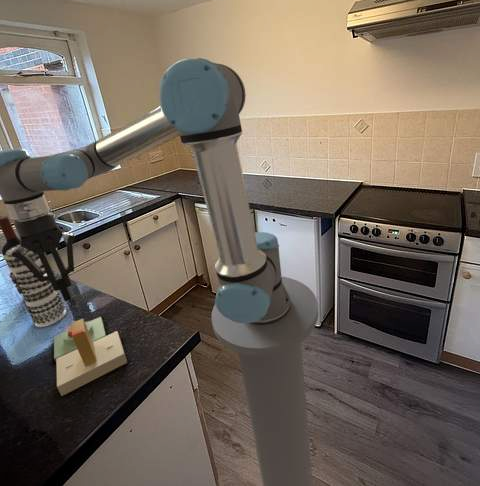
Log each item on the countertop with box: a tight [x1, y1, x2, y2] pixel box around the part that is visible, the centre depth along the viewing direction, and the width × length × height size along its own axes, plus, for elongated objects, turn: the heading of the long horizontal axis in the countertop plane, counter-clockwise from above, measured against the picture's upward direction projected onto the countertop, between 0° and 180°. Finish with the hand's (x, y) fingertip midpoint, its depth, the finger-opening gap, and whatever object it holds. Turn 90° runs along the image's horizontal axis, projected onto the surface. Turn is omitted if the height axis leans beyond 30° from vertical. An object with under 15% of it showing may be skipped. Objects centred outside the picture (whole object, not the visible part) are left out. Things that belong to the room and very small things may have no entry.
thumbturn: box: [70, 318, 97, 366], centre depth 72 cm, size 6×2×9 cm, turn 35°
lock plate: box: [55, 330, 128, 397], centre depth 74 cm, size 14×10×3 cm
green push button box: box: [53, 316, 107, 362], centre depth 83 cm, size 12×10×3 cm
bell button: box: [66, 324, 72, 337], centre depth 83 cm, size 4×4×2 cm
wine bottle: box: [0, 215, 20, 286], centre depth 101 cm, size 8×8×30 cm
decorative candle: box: [2, 245, 67, 328], centre depth 90 cm, size 9×9×25 cm
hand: (68, 297), depth 79 cm, fingers closed
